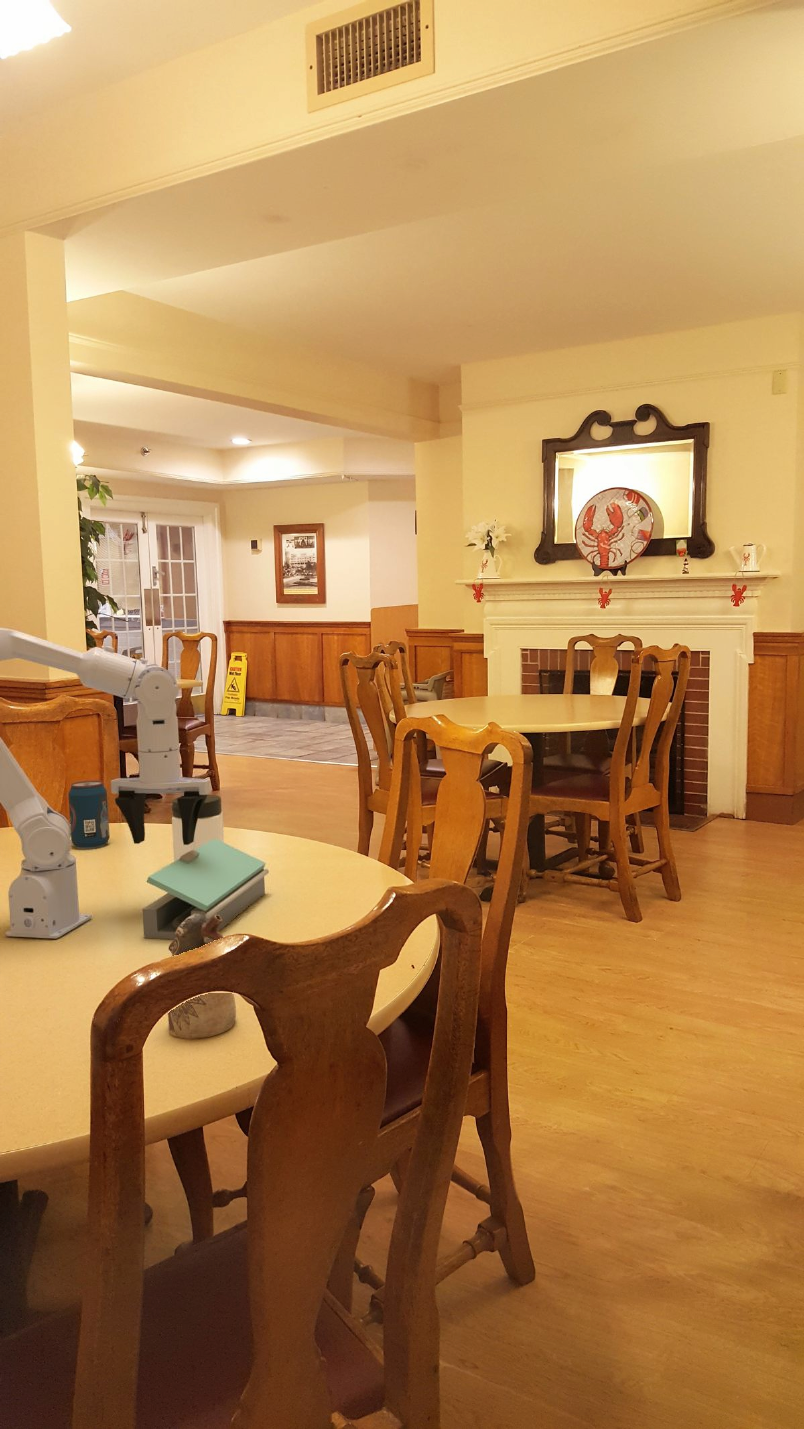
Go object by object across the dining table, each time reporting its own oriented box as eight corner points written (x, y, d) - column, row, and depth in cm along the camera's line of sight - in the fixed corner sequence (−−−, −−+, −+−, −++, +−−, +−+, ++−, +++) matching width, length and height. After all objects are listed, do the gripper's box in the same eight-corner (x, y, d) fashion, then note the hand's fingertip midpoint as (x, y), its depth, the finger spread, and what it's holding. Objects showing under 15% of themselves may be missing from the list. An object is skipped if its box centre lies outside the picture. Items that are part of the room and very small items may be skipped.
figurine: (188, 1008, 110) (183, 902, 108) (247, 1014, 108) (242, 906, 106) (154, 1035, 103) (148, 923, 102) (217, 1042, 101) (211, 927, 100)
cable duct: (212, 941, 132) (210, 912, 131) (144, 938, 134) (142, 909, 133) (269, 893, 153) (268, 868, 153) (210, 891, 155) (209, 866, 155)
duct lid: (205, 911, 131) (208, 901, 131) (146, 882, 133) (149, 872, 132) (264, 867, 153) (267, 859, 152) (212, 842, 154) (215, 834, 154)
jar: (180, 862, 174) (177, 794, 172) (227, 860, 174) (224, 793, 173) (170, 876, 165) (166, 804, 163) (220, 874, 165) (216, 803, 164)
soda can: (71, 843, 190) (67, 781, 189) (109, 839, 192) (105, 778, 191) (71, 851, 184) (67, 787, 183) (110, 847, 186) (106, 784, 185)
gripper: (217, 745, 145) (221, 837, 146) (124, 745, 148) (130, 835, 149) (197, 752, 138) (202, 848, 139) (101, 752, 141) (107, 846, 142)
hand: (163, 842), depth 144 cm, fingers open, 7 cm apart
